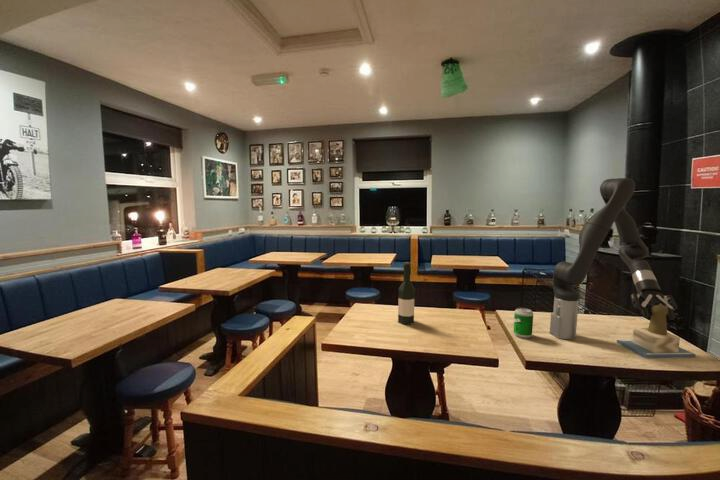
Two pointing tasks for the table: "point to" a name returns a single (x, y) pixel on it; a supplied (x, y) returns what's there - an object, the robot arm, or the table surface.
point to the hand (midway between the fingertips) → (659, 318)
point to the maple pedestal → (655, 341)
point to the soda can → (523, 322)
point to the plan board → (648, 354)
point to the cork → (658, 320)
